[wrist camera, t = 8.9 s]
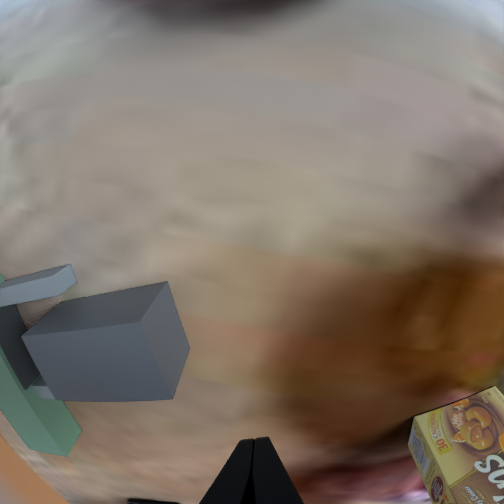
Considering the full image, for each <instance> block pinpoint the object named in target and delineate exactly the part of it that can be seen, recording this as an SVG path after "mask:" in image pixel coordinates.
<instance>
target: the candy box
mask: <svg viewBox="0 0 504 504" xmlns="http://www.w3.org/2000/svg"><path fill="white" fill-rule="evenodd" d="M408 448H409V450H410V452H411V454H412V457H413V459H414V461H415V463H416V466H417V468H418V470H419V473H420V475H421V477H422V479H423V482H424V484H425V487H426V489H427V491H428V494H429V496H430V499H431V501H432V503H433V504H504V396H503V395H502V393H501V392H500V391H499V390H498V389H497V388H496V387H495V386H493V387H491V388H489V389H487V390H484V391H482V392H479V393H477V394H475V395H473V396H471V397H468V398H466V399H463V400H460V401H458V402H455V403H453V404H450V405H447V406H445V407H442V408H439V409H436V410H433V411H430V412H427V413H424V414H421V415H418V416H415V417H414V419H413V424H412V428H411V433H410V438H409V441H408Z"/></svg>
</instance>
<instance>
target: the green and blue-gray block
mask: <svg viewBox="0 0 504 504" xmlns="http://www.w3.org/2000/svg"><path fill="white" fill-rule="evenodd" d="M76 282H77V281H76V279H75V276H74V273H73V270H72V267H71V264H68V265H64V266H60V267H56V268H52V269H49V270H45V271H41V272H37V273H33V274H30V275H26V276H22V277H18V278H15V279H11V280H7V281H5V280H4V277H3V274H1V275H0V409H1V411H2V412H3V414H4V415H5V417H6V418H7V420H8V421H9V422H10V424H11V425H12V427H13V428H14V429H15V431H16V432H17V433H18V435H19V436H20V437H21V439H22V440H23V441H24V443H25V444H26V445H27V446H28V448H29V449H31V450H35V451H40V452H44V453H49V454H54V455H59V456H65V457H67V456H68V455H69V453H70V451H71V449H72V447H73V445H74V444H75V442H76V440H77V438H78V437H79V435H80V433H81V431H82V430H81V428H80V427H79V425H78V424H77V422H76V421H75V419H74V418H73V416H72V415H71V413H70V412H69V410H68V408H67V407H66V405H65V404H64V402H63V401H61V400H56V399H55V398H54V396H53V395H52V393H51V391H50V390H49V388H48V386H47V384H46V383H45V381H44V379H43V377H42V376H41V374H40V372H39V370H38V368H37V367H36V365H35V363H34V361H33V359H32V357H31V355H30V353H29V351H28V349H27V347H26V345H25V343H24V341H23V339H22V337H21V336H22V335H23V334H24V333H25V332H27V330H26V328H25V326H24V324H23V321H22V319H21V317H20V314H19V312H18V310H17V307H16V305H15V304H18V303H23V302H28V301H33V300H38V299H44V298H49V297H54V296H59V295H60V294H62V293H63V292H64V291H65V290H67V289H68V288H69V287H71V286H72V285H73V284H74V283H76Z"/></svg>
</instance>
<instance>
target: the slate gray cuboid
mask: <svg viewBox="0 0 504 504" xmlns="http://www.w3.org/2000/svg"><path fill="white" fill-rule="evenodd" d="M21 337H22V339H23V341H24V343H25V345H26V347H27V349H28V351H29V353H30V355H31V357H32V359H33V361H34V363H35V365H36V367H37V368H38V370H39V372H40V374H41V376H42V377H43V379H44V381H45V383H46V384H47V386H48V388H49V390H50V391H51V393H52V395H53V396H54V398H55V399H56V400H61V401H90V402H123V401H153V400H170V399H173V397H174V394H175V391H176V388H177V385H178V382H179V379H180V376H181V373H182V370H183V367H184V364H185V362H186V359H187V356H188V353H189V350H190V346H189V343H188V340H187V338H186V335H185V332H184V329H183V326H182V323H181V320H180V318H179V315H178V312H177V309H176V306H175V303H174V300H173V297H172V294H171V290H170V287H169V284H168V281H166V282H161V283H156V284H151V285H146V286H141V287H135V288H130V289H125V290H120V291H114V292H109V293H104V294H99V295H93V296H88V297H82V298H77V299H72V300H66V301H62V302H60V303H59V304H58V305H57V306H56V307H54V308H53V309H52V310H51V311H50V312H49V313H47V314H46V315H45V316H44V317H43V318H42V319H40V320H39V321H38V322H37V323H36V324H35V325H33V326H32V327H31V328H30V329H29V330H28V331H27V332H25V333H24V334H23V335H22V336H21Z"/></svg>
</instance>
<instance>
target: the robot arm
mask: <svg viewBox="0 0 504 504" xmlns="http://www.w3.org/2000/svg"><path fill="white" fill-rule="evenodd" d="M128 504H178V503H163V502H151V501H141V500H132V499H129V500H128ZM199 504H304V503H303V501H302V499H301V497H300V495H299V494H298V492H297V490H296V488H295V486H294V484H293V483H292V481H291V479H290V477H289V475H288V473H287V471H286V469H285V468H284V466H283V464H282V462H281V460H280V458H279V456H278V454H277V452H276V450H275V448H274V446H273V444H272V442H271V440H270V438H269V437H260V438H256V439H255V440H254V439H243V440H240V441H239V443H238V444H237V446H236V448H235V449H234V451H233V452H232V454H231V456H230V457H229V459H228V460H227V462H226V464H225V465H224V467H223V468H222V470H221V471H220V473H219V474H218V476H217V478H216V479H215V481H214V482H213V484H212V485H211V487H210V488H209V490H208V491H207V493H206V494H205V496H204V497H203V499H202V500H201V502H200V503H199Z"/></svg>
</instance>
